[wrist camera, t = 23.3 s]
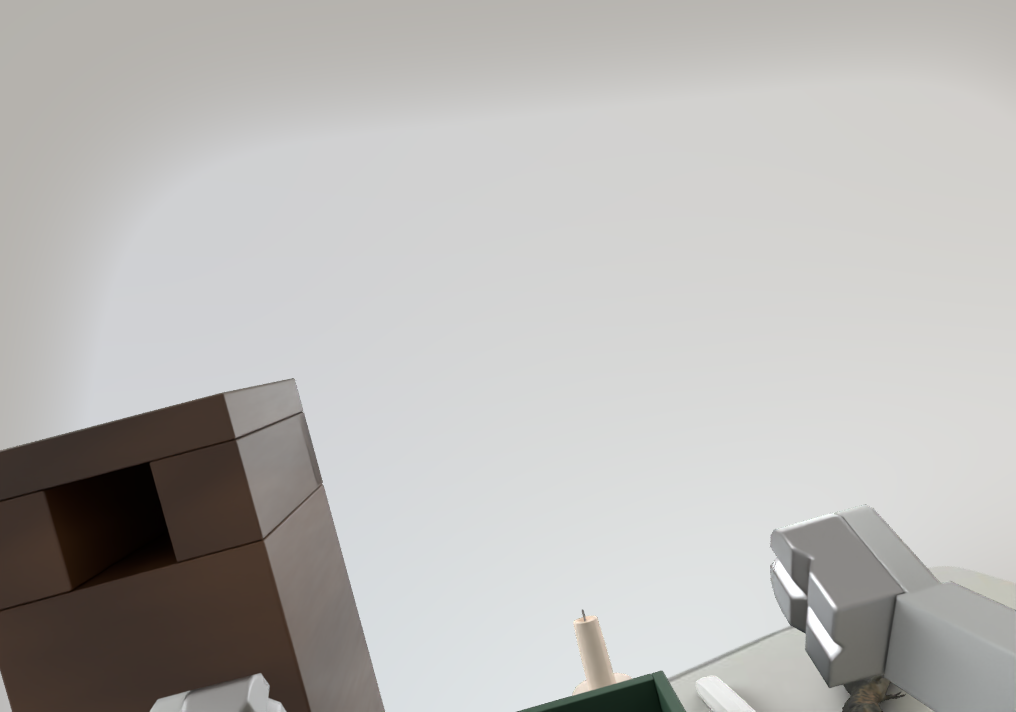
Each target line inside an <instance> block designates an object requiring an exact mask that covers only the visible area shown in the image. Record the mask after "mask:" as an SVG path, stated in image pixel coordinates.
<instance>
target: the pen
mask: <svg viewBox="0 0 1016 712" xmlns="http://www.w3.org/2000/svg"><path fill="white" fill-rule="evenodd" d="M696 690H697V691H698V693H699V694H700V696H701V697H702V699H703V700H704V702H705V703H706V704H707V705H708V706H709V708H710V709H711V710H712V711H713V712H756V711H755V710H754V709H753V708H752V707H750V706H749V705H748V704H747V703H746V702H745V701H744V700H743V699H742V698H741V697H739V696H738V695H737V694H736V693H735V692H734V691H733V690H732V689H731V688H730V687H728V686H727V685H726V684H725V683H724V682H723V681H722V680H720V679H719V678H717V677H716V676H707V677H702V678H700V679H699V680H697V681H696Z"/></svg>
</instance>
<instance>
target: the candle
mask: <svg viewBox="0 0 1016 712" xmlns="http://www.w3.org/2000/svg"><path fill="white" fill-rule="evenodd" d="M582 614H583V617H582V618H579V619H577V620H575V621H574V622H573V624H574V628H575V633H576V638H577V642H578V647H579V651H580V655H581V660H582V664H583V668H584V672H585V676H586V680H585V681H583V682H582V683H580V684H579V685H578V686H577V687H576V688H575V690H574V691H573V694H572V696H573V695H577V694H580V693H584V692H587V691H591V690H595V689H598V688H602V687H605V686H609V685H612V684H616V683H619V682H623V681H626V680H630V679H632V678H631V677H630V676H628V675H625V674H621V673H613V670H612V666H611V663H610V659H609V655H608V652H607V649H606V644H605V641H604V638H603V635H602V631H601V628H600V625H599V621H598V618H597V617H596V616H587V617H585V614H584V611H583V610H582Z"/></svg>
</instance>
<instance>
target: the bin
mask: <svg viewBox="0 0 1016 712" xmlns="http://www.w3.org/2000/svg"><path fill="white" fill-rule="evenodd" d="M517 712H686V711H685V709H684V707H683V705H682V704H681V702H680V700H679V698H678V697H677V695H676V693H675V691H674V690H673V688H672V686H671V684H670V683H669V681H668V679H667V677H666V676H665V674H664V672H663V671H658V672H655V673H652V674H647V675H644V676H640V677H637V678H633V679H630V680H626V681H623V682H619V683H616V684H612V685H609V686H605V687H602V688H598V689H595V690H591V691H587V692H584V693H580V694H577V695H573V696H570V697H566V698H563V699H559V700H556V701H552V702H549V703H545V704H542V705H539V706H535V707H531V708H528V709H524V710H521V711H517Z"/></svg>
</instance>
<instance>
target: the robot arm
mask: <svg viewBox="0 0 1016 712" xmlns="http://www.w3.org/2000/svg"><path fill="white" fill-rule="evenodd" d="M770 547H771V548H772V550H773V551H774V553H775V554H776V556H777V558H776V559H775V561H774V562H773V563H772V565H771V566H770V569H771V570H770V573H771V583H772V587H773V590H774V594H775V598H776V600H777V602H778V604H779V606H780V608H781V610H782V612H783V614H784V615H785V617H786V619H787V621H788V622H789V624H790V625H791V626H793V627H795V628H797V629H798V630H800V631H802V632H804V633H806V644H805V650H806V652H807V653H808V655H809V656H810V658H811V660H812V661H813V663H814V664H815V666H816V668H817V669H818V671H819V672H820V674H821V676H822V677H823V679H824V680H825V682H826V684H827V685H828V687H829V688H832V687H835V686H839V685H843V684H847V683H851V682H855V681H859V680H863V679H867V678H871V677H874V676H878V675H882V674H884V678H886V679H887V680H889V681H890V682H892V683H893V684H895V685H896V686H898V687H899V688H901V689H902V690H904V691H905V692H907V693H908V694H910V695H911V696H913V697H914V698H916V699H917V700H919V701H920V702H921V703H923V704H924V705H926V706H927V707H929V708H930V709H932V710H933V711H935V712H1016V610H1014V609H1012V608H1010V607H1008V606H1005V605H1003V604H1001V603H999V602H996V601H994V600H992V599H990V598H988V597H985V596H983V595H981V594H979V593H976V592H974V591H972V590H970V589H968V588H965V587H963V586H961V585H959V584H956V583H954V582H952V581H948V582H943V583H940V582H939V580H938V579H937V578H936V577H935V576H934V575H933V574H932V573H931V572H930V570H929V569H928V568H927V567H926V566H925V565H924V564H923V563H922V562H921V561H920V559H919V558H918V557H917V556H916V555H915V554H914V553H913V552H912V551H911V549H910V548H909V547H908V546H907V545H906V544H905V543H904V542H903V541H902V539H901V538H900V537H899V536H898V535H897V534H896V533H895V532H894V531H893V530H892V529H891V527H890V526H889V525H888V524H887V523H886V522H885V521H884V520H883V519H882V517H881V516H880V515H879V514H878V513H877V512H876V511H875V510H874V508H872V507H870V506H868V505H866V504H865V505H861V506H858V507H854V508H851V509H847V510H844V511H840V512H836V513H834V514H832V513H830V514H826V515H823V516H820V517H816V518H813V519H809V520H806V521H802V522H799V523H796V524H792V525H789V526H785V527H782V528H778V529H775V530H774V531H773V532H772V534H771V545H770ZM269 688H270V685H269V684H268V682H267V681H266V680H265V678H264V677H263V675H262V674H261V673H259V674H255V675H251V676H247V677H243V678H239V679H235V680H231V681H227V682H223V683H219V684H215V685H211V686H207V687H203V688H199V689H195V690H191V691H187V692H183V693H179V694H176V695H172V696H168V697H164V698H161V699H158V700H157V701H156V703H155V704H154V706H153V707H152V709H151V710H150V712H286V710H285V709H284V707H283V705H282V704H281V702H278V701H276V700H273V699H270V698H268V696H269Z"/></svg>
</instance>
